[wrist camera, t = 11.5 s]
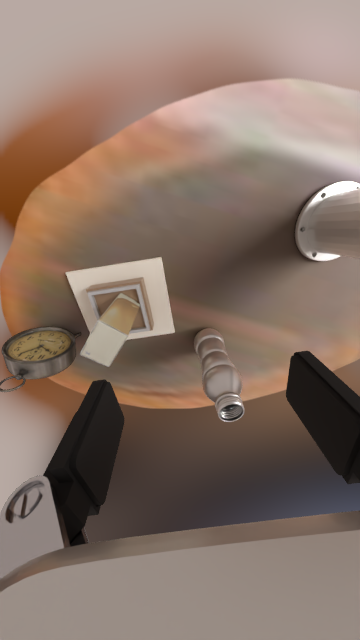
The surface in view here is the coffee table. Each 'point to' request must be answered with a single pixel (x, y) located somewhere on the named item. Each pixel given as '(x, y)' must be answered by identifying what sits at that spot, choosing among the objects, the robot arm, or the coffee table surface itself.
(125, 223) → the coffee table surface
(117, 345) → the skincare box
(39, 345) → the alarm clock
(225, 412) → the plastic bottle
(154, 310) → the display base
